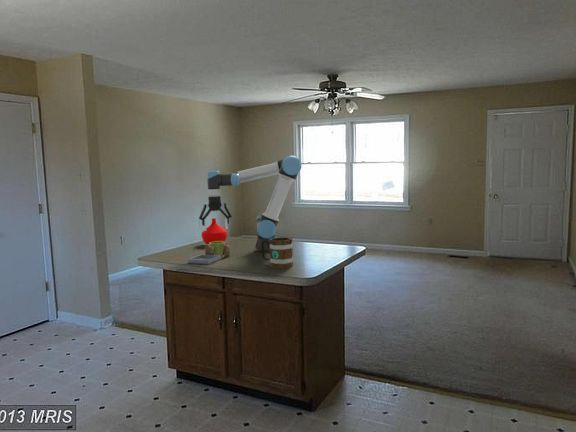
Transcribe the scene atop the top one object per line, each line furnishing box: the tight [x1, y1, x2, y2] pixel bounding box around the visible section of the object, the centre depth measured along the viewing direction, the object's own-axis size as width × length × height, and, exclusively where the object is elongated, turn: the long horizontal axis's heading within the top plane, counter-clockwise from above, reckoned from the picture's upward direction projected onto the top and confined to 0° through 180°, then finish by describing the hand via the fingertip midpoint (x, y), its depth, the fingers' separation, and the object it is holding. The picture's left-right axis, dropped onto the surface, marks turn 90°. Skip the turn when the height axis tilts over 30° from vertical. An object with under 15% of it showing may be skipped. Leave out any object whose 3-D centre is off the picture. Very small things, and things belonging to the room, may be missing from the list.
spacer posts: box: [204, 242, 231, 258], centre depth 284 cm, size 17×17×7 cm
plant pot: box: [209, 241, 225, 257], centre depth 284 cm, size 9×9×9 cm
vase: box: [201, 218, 228, 244], centre depth 324 cm, size 18×18×19 cm
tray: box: [187, 253, 222, 265], centre depth 269 cm, size 14×14×2 cm
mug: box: [261, 236, 294, 269], centre depth 253 cm, size 20×14×15 cm
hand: (216, 229), depth 283 cm, fingers open, 13 cm apart
